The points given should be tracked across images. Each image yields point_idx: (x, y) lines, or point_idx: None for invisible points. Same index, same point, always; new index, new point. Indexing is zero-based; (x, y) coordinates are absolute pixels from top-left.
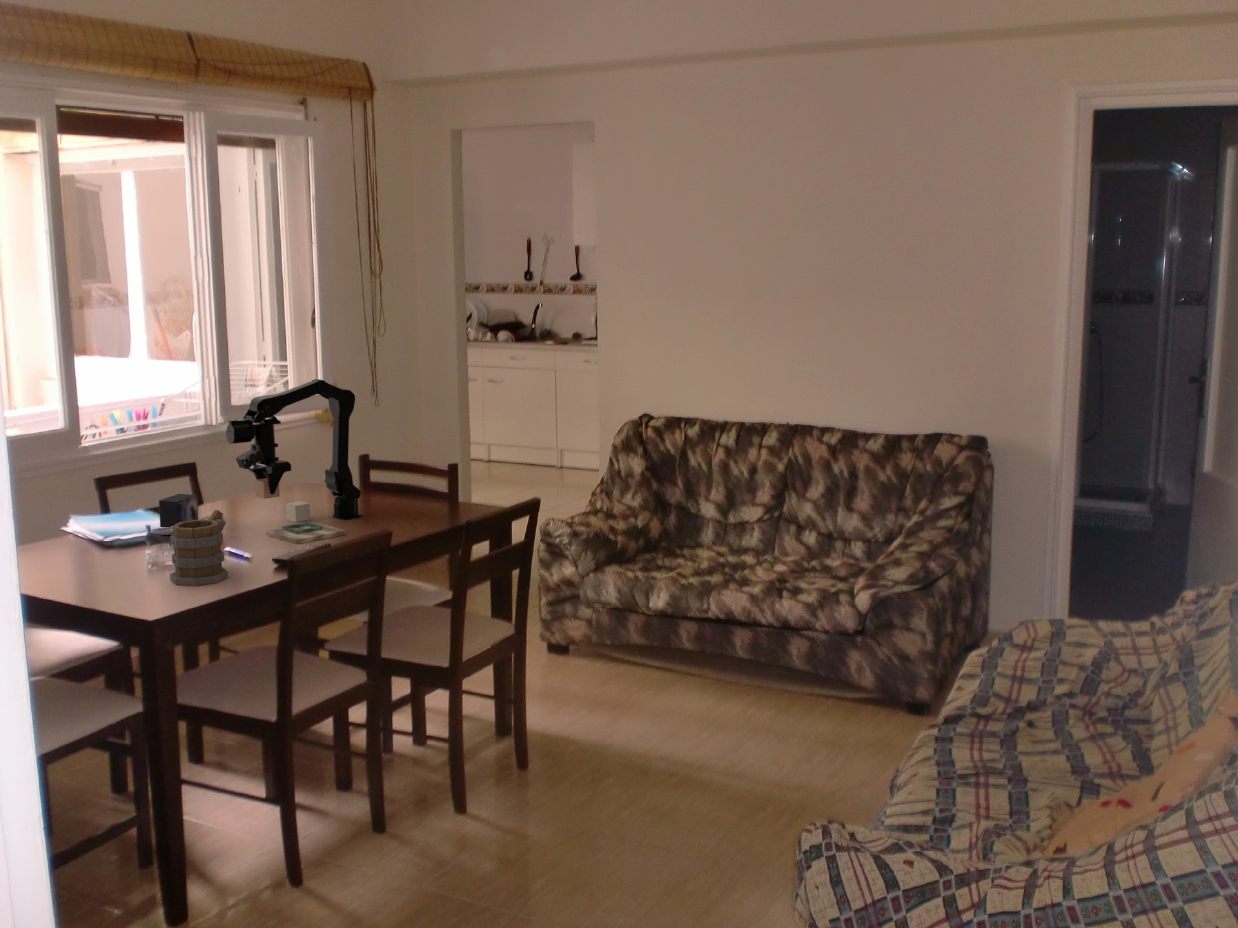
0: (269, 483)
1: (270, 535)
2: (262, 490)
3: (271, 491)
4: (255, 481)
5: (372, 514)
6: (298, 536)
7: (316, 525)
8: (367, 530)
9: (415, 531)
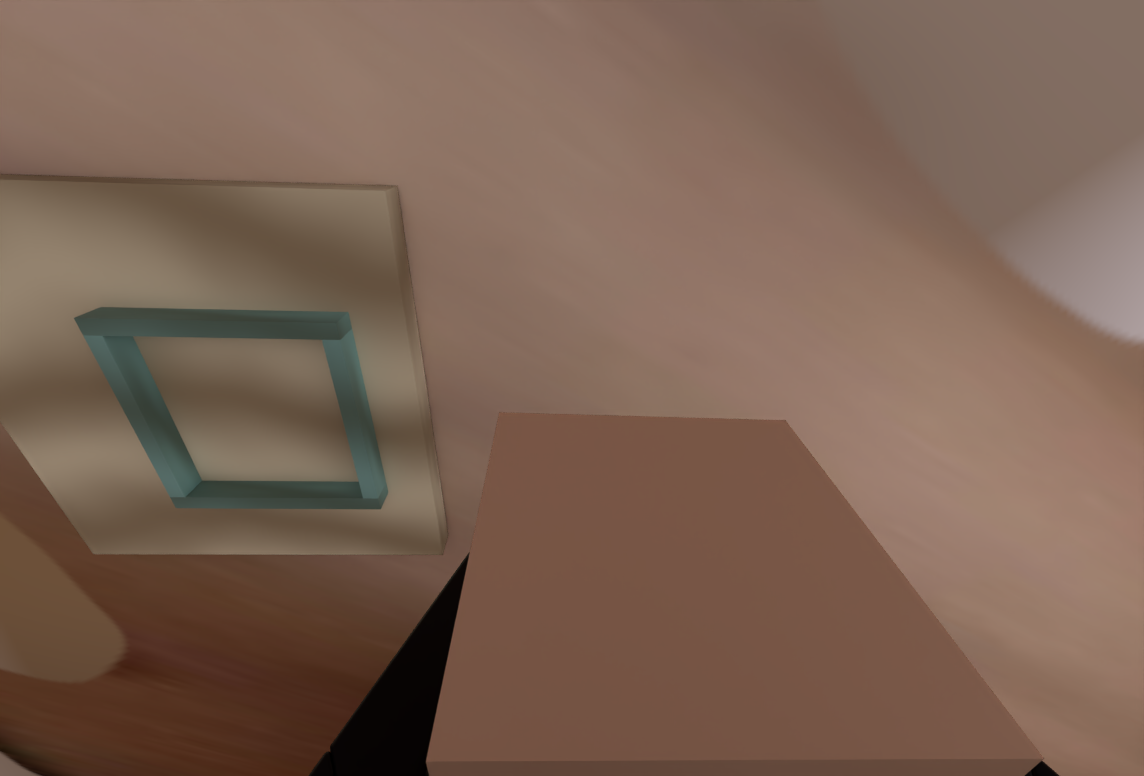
0: (347, 766)
1: (325, 185)
2: (535, 515)
3: (446, 591)
4: (946, 701)
5: None
6: (2, 269)
7: (221, 497)
8: (172, 626)
9: (45, 708)
